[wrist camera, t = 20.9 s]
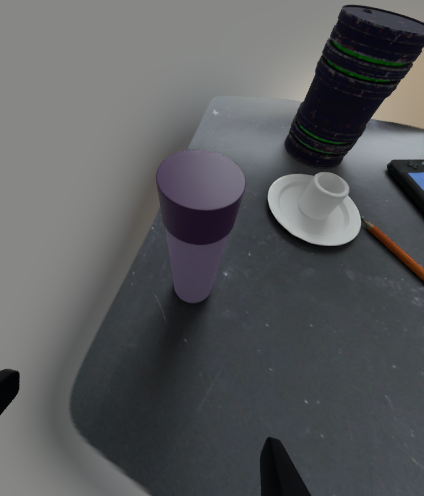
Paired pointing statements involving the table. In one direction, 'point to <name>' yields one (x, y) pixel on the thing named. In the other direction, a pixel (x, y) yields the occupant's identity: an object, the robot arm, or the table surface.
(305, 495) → the robot arm
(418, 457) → the table surface
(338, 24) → the dark blue cylinder
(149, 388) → the table surface
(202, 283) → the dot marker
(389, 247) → the pencil
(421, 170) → the game console
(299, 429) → the table surface
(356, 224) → the candle holder
